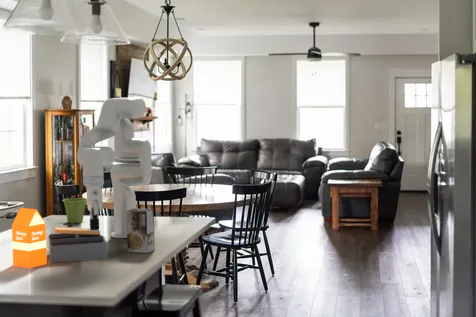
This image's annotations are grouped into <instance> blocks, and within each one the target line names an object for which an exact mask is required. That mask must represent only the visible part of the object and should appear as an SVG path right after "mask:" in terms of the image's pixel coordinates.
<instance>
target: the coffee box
mask: <svg viewBox="0 0 476 317" xmlns="http://www.w3.org/2000/svg"><path fill="white" fill-rule="evenodd" d="M154 211H155V210H154V208H136V209H131V210H128V211H126V222H127V238H126V246H127V247H126V248H127V251H126V252H127V253H143V254H144V253H145V254H146V253H147V254H149V253H151V252H153V251H155V250H156V247H155V246H156V245H155V216H154V214H155V212H154Z"/></svg>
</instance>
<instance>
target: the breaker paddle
mask: <svg viewBox="0 0 476 317" xmlns="http://www.w3.org/2000/svg"><path fill="white" fill-rule="evenodd" d="M59 233H70V234H94V235H101V231H100V229H99V230H91V229H90V227H89V228H86V227H85V228H84V227H83V228H82V227H61V226H54V234H59Z"/></svg>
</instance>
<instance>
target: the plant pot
mask: <svg viewBox="0 0 476 317" xmlns="http://www.w3.org/2000/svg"><path fill="white" fill-rule="evenodd" d="M62 202H63V205H64V208H65V209H64V210H65V213H66V214H65V215H66V220H67V223H68V224H75V223H78V224H79V223H82V222H84V221H83V220H84V214H85V208H86V204H87V198H64V199H62Z"/></svg>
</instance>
